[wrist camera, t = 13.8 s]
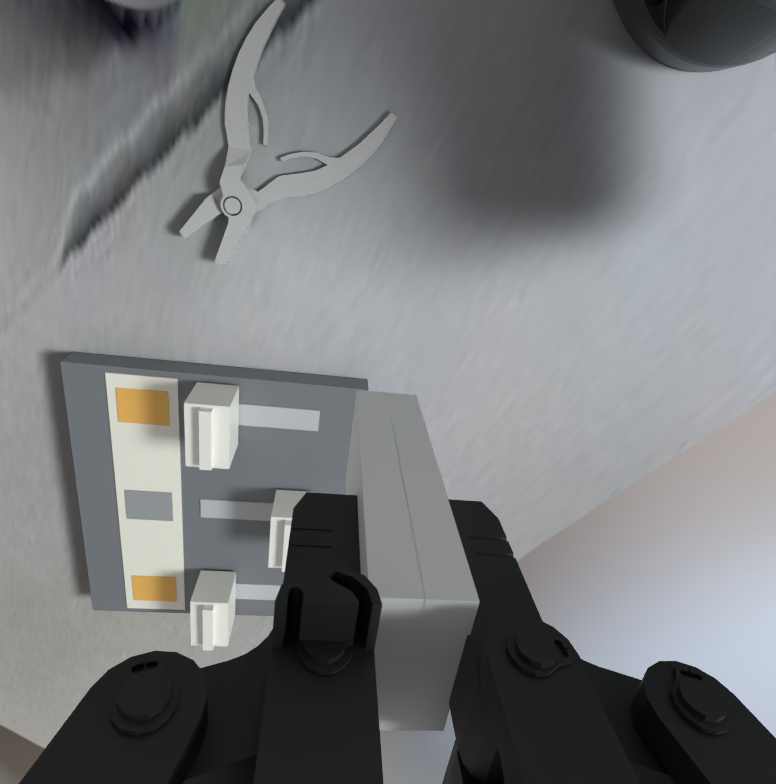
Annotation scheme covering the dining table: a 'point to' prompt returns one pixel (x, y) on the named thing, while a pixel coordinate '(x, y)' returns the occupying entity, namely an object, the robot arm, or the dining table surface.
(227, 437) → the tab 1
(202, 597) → the white plastic block
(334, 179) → the pliers
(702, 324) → the dining table surface
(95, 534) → the switch bank
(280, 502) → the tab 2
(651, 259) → the dining table surface
